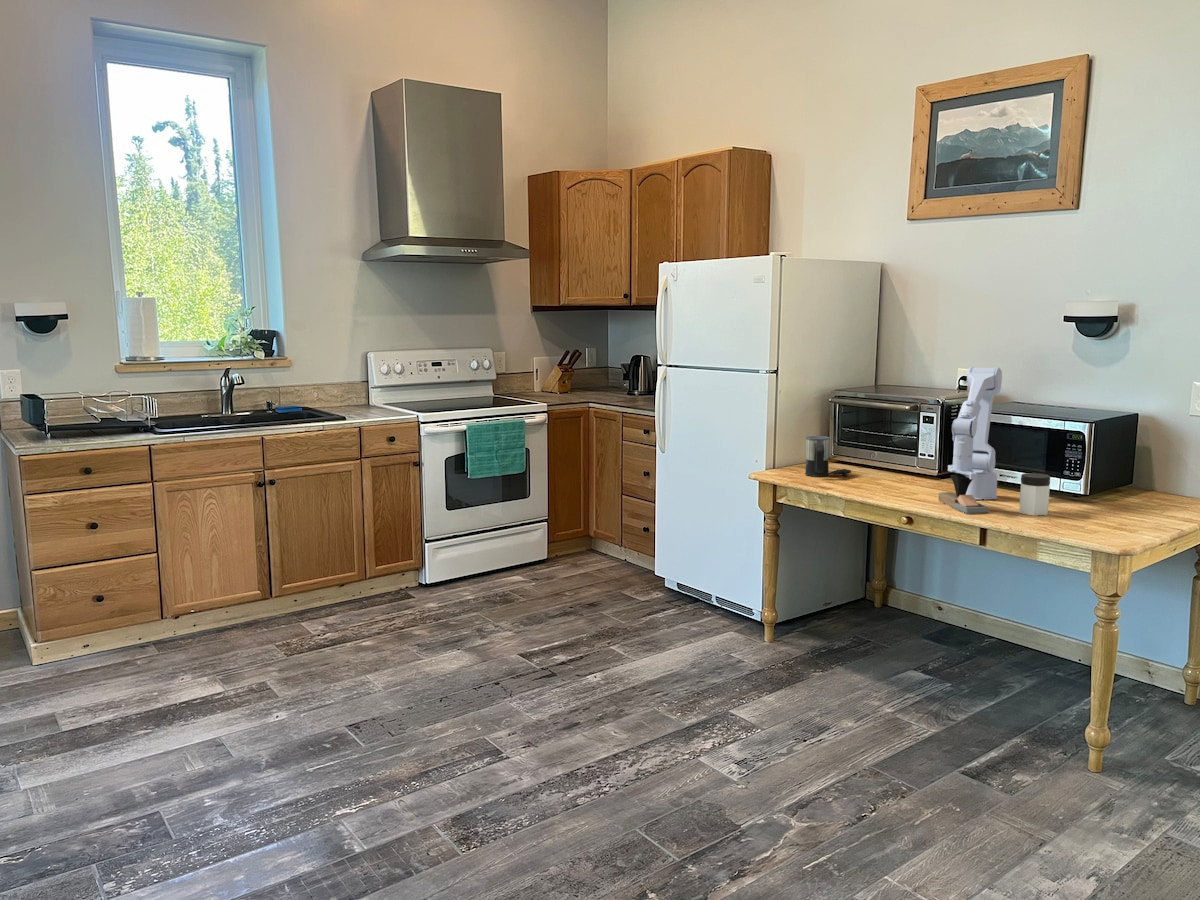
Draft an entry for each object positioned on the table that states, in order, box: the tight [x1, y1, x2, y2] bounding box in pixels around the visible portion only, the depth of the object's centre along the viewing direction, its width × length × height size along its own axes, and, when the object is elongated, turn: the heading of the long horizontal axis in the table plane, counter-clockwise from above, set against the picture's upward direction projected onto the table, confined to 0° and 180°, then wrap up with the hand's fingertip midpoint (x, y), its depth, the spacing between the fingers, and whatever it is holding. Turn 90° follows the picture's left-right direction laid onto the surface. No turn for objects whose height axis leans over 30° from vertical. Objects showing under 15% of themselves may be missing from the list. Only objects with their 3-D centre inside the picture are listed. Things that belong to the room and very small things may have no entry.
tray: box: [953, 502, 989, 515], centre depth 275 cm, size 7×8×2 cm
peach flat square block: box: [957, 495, 979, 507], centre depth 276 cm, size 4×4×2 cm
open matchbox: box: [938, 491, 958, 509], centre depth 284 cm, size 7×10×3 cm, turn 6°
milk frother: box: [804, 435, 852, 477], centre depth 334 cm, size 14×16×15 cm
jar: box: [1018, 472, 1051, 517], centre depth 271 cm, size 9×8×12 cm
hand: (960, 497), depth 279 cm, fingers closed
